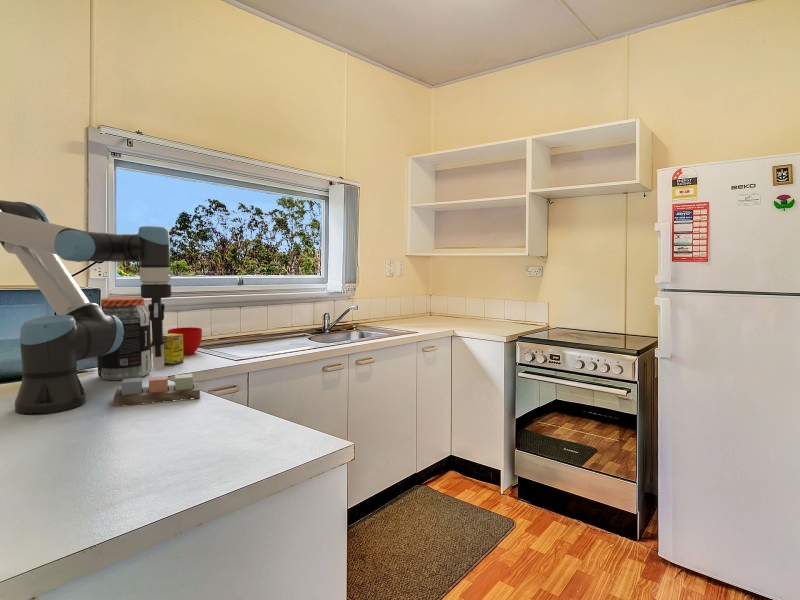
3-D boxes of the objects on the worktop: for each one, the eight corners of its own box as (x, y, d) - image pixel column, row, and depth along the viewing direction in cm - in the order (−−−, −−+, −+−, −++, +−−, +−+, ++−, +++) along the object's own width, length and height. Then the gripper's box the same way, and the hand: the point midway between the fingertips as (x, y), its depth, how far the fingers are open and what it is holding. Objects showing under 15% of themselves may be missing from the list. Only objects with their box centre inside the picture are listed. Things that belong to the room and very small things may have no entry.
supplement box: (173, 365, 178) (173, 336, 177) (159, 364, 179) (158, 335, 178) (184, 362, 183) (183, 333, 183) (170, 361, 185) (169, 333, 184)
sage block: (192, 385, 142) (192, 373, 141) (193, 389, 137) (192, 377, 137) (175, 386, 140) (174, 375, 139) (175, 390, 135) (174, 378, 135)
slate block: (142, 389, 136) (141, 377, 136) (141, 394, 132) (140, 381, 132) (123, 391, 134) (123, 379, 134) (121, 395, 130) (121, 382, 130)
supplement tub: (162, 372, 166) (160, 297, 164) (122, 383, 152) (119, 301, 150) (128, 368, 172) (125, 296, 170) (86, 378, 157) (82, 299, 155)
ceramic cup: (154, 357, 192) (154, 332, 191) (181, 349, 208) (180, 326, 208) (184, 359, 190) (183, 333, 189) (208, 351, 206) (208, 328, 205)
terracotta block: (167, 387, 139) (167, 375, 139) (167, 391, 135) (167, 379, 134) (149, 389, 137) (149, 377, 137) (148, 393, 133) (148, 380, 132)
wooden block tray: (198, 390, 144) (198, 382, 144) (199, 398, 136) (199, 390, 136) (117, 398, 136) (117, 389, 135) (113, 407, 128) (113, 397, 127)
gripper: (170, 284, 129) (173, 371, 131) (171, 282, 141) (173, 362, 143) (138, 284, 126) (141, 373, 128) (142, 282, 138) (145, 364, 140)
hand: (158, 367), depth 135 cm, fingers closed
